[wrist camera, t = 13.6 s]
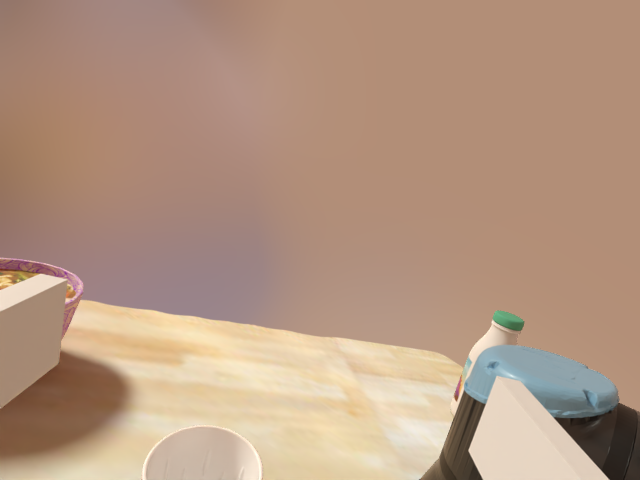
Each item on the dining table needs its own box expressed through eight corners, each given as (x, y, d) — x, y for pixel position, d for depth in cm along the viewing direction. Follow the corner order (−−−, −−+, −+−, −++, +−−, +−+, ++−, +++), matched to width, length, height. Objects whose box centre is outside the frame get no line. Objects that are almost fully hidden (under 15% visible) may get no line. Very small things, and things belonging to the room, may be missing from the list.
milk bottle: (503, 433, 64) (545, 327, 60) (473, 438, 61) (515, 326, 57) (469, 403, 71) (505, 306, 67) (439, 406, 67) (476, 304, 63)
